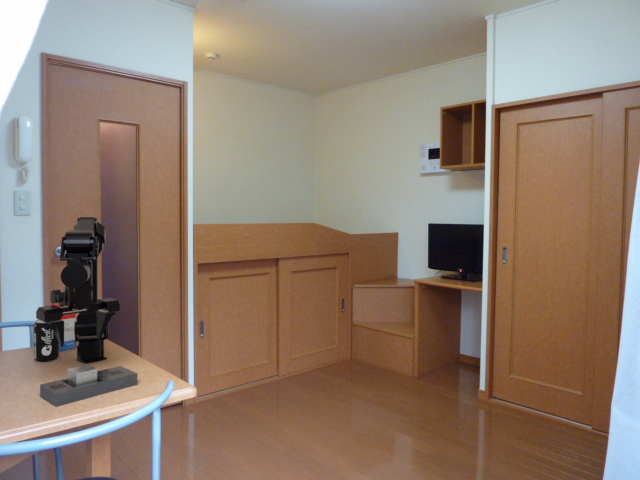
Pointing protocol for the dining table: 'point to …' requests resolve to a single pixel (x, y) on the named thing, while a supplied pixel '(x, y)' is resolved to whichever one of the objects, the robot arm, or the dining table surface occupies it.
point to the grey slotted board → (88, 386)
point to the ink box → (68, 331)
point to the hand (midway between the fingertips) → (80, 342)
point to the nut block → (82, 375)
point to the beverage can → (45, 342)
